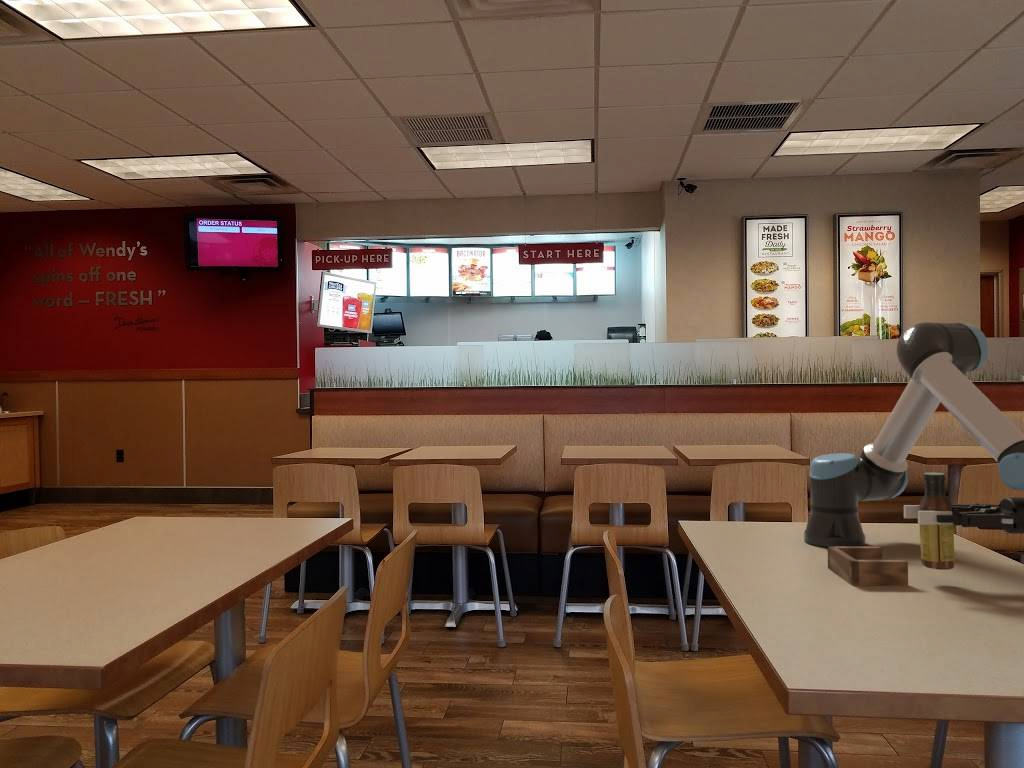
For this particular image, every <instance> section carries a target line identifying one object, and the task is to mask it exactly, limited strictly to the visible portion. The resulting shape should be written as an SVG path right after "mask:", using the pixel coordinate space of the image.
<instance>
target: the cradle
mask: <svg viewBox="0 0 1024 768" xmlns="http://www.w3.org/2000/svg"><path fill="white" fill-rule="evenodd" d="M827 569H828V570H830V571H831V572H833V573H834V574H835V575H837V576H838V577H840V578H841V579H842V580H843V581H845V582H847V583H849V584H850V586H907V587H908V586H909V561H907V560H905V559H883V548H882V547H880V546H862V547H846V546H828V547H827Z"/></svg>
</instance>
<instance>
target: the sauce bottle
mask: <svg viewBox="0 0 1024 768" xmlns="http://www.w3.org/2000/svg"><path fill="white" fill-rule="evenodd" d="M922 479H923V481H924V495H923V497H922V498H921V499H920V501H919V504H918V505H919V506H920V511H952V505H951V504H952V503H951V501H950V500H949V498H948V496H947V495H946V491H945V490H946V488H945V486H946V485H945V483H946V474H945V473H944V472H933V471H931V472H929V471H928V472H924V473H923V478H922ZM954 531H955V530H954V523H952V525H920V524H919V540H920V559H921V564H922V566H923V567H926V568H928V569H934V570H939V571H941V570H943V571H944V570H953V569H954V568H955V562H954V561H955V560H956V559H955V537H954V536H955V534H954Z"/></svg>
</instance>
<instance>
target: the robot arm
mask: <svg viewBox="0 0 1024 768" xmlns="http://www.w3.org/2000/svg"><path fill="white" fill-rule="evenodd" d="M896 355H897V356H896V357H897V359H898V361H899V362H898V363H899V364H900V366H901V367H902V369H903V370H904V372H905V373H906V374H907V375H908V376H909V378H910V380H909V382H908V383H907V385H906V386H905V388H904V390H903V392H902V393H901V396H900V397H899V399H898V400H897V402H896V404H895V406H894V408H893V409H892V411H891V413H890V414H889V416H888V418H887V419H886V421H885V423H884V425H883V426H882V428H881V430H880V432H879V433H878V435H877V436H876V438H875V440H874V442H872V443H867V444H866V445H864V447H863V449H862V451H861V452H860V454H859V455H858V457H857V455H855V454H853V453H842V452H841V453H828V454H822V455H818V456H816V457H814V458H813V459H812V460H810V461H811V462H810V468H809V469H810V470H809V485H810V493H809V494H810V514H809V517H808V521H807V523H806V527H805V530H804V533H803V541H804V542H805V543H807V544H810V545H813V546H817V547H825V548H828V546H846V547H866V534H865V533H864V530H863V527H862V523H861V520H860V517H859V511H858V510H859V509H858V508H859V507H858V506H859V505H858V504H859V502H868V501H870V502H871V501H885V500H886V501H887V500H890V499H893V498H896V497H898V496H900V495H901V494H902V493H903V492H904V490H905V489H906V488H907V485H908V482H909V477H908V474H909V472H908V467H909V464H908V462H907V457H908V455H909V454H910V453H911V451H912V449H913V447H914V446H915V444H916V443H917V441H918V440H919V437H920V436H921V434H922V433H923V432H924V430H925V428H926V426H927V425H928V423H930V422H929V421H930V420H931V419H932V417H933V415H934V413H936V412H935V411H936V410H937V409H938V407H939V405H940V404H942V405H943V406H944V408H945V409H946V410H948V412H950V414H951V415H952V417H954V418H955V419H956V421H957V422H959V423H960V424H961V426H963V428H964V429H966V431H967V432H968V433H969V434H970V435H971V437H973V438H974V439H975V440H976V441H977V443H979V445H981V447H982V448H983V449H984V450H985V451H986V452H987V453H988V454H989V455H990V456H991V457H992V459H994V460H995V462H997V463H998V466H997V473H998V476H999V479H1000V481H1001V482H1002V483H1003V484H1004V485H1005V487H1007V488H1010V489H1011V490H1014V491H1023V492H1024V432H1022V431H1021V429H1019V428H1018V427H1017V426H1016V425H1015V423H1013V422H1012V421H1011V420H1010V419H1009V418H1008V417H1007V416H1006V415H1005V414H1004V413H1003V412H1002V411H1001V410H1000V409H999V408H998V407H997V406H996V405H995V404H994V403H993V402H992V401H991V400H990V398H988V397H987V396H986V395H985V393H983V391H981V390H980V389H979V388H978V387H977V386H976V385H975V384H974V383H973V382H972V381H971V380H970V379H969V378H968V377H967V376H966V375H967V373H968V372H970V373H971V372H974V371H976V370H978V369H980V368H981V367H982V366H983V365H984V364H985V362H986V361H987V359H988V356H989V344H988V342H987V338H986V335H985V334H984V332H983V331H982V330H980V328H978V327H976V326H975V325H972V324H969V323H963V322H953V323H951V322H931V321H929V322H927V321H923V322H918V323H916V324H913V325H912V326H909V327H907V328H906V329H905V330H904V331H903V332H902V334H901V335H900V336H899V338H898V341H897V343H896ZM951 505H952V511H920V506H919V504H917V505H915V504H914V505H912V504H911V505H910V504H908V505H907V504H904V505H903V518H904V519H917V524H918V525H919V526H920V525H952V523H953V526H961V527H962V528H1002V530H1003V531H1005V532H1006V533H1008V534H1013V535H1014V534H1017V535H1018V534H1019V535H1022V534H1023V535H1024V497H1011V496H1010V497H1009V496H1008V497H1007V496H1006V497H1004V498H1001V500H1000V502H999V503H998V506H995V505H994V504H991V503H990V504H987V503H986V504H984V505H983V504H980V503H973V504H972V503H971V504H970V503H968V504H967V503H966V504H965V503H964V504H961V503H951Z"/></svg>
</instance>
